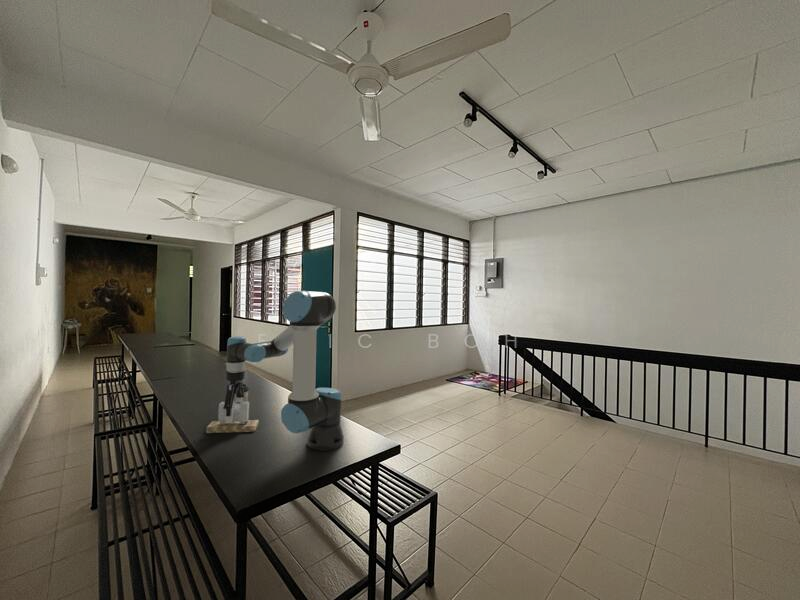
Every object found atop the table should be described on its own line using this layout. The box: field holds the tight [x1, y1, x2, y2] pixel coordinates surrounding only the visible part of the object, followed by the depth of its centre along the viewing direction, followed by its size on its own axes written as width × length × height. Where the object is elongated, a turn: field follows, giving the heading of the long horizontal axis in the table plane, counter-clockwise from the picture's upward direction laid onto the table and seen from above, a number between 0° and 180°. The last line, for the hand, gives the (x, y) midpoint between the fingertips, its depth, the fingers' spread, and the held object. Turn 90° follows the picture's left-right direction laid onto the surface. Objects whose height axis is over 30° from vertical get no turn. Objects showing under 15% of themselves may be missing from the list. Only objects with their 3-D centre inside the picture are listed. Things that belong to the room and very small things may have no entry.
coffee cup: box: [234, 383, 249, 402], centre depth 163 cm, size 9×9×15 cm
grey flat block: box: [217, 401, 250, 426], centre depth 146 cm, size 12×3×12 cm, turn 101°
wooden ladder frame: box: [206, 419, 260, 434], centre depth 147 cm, size 20×7×2 cm, turn 101°
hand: (233, 417), depth 146 cm, fingers open, 13 cm apart
